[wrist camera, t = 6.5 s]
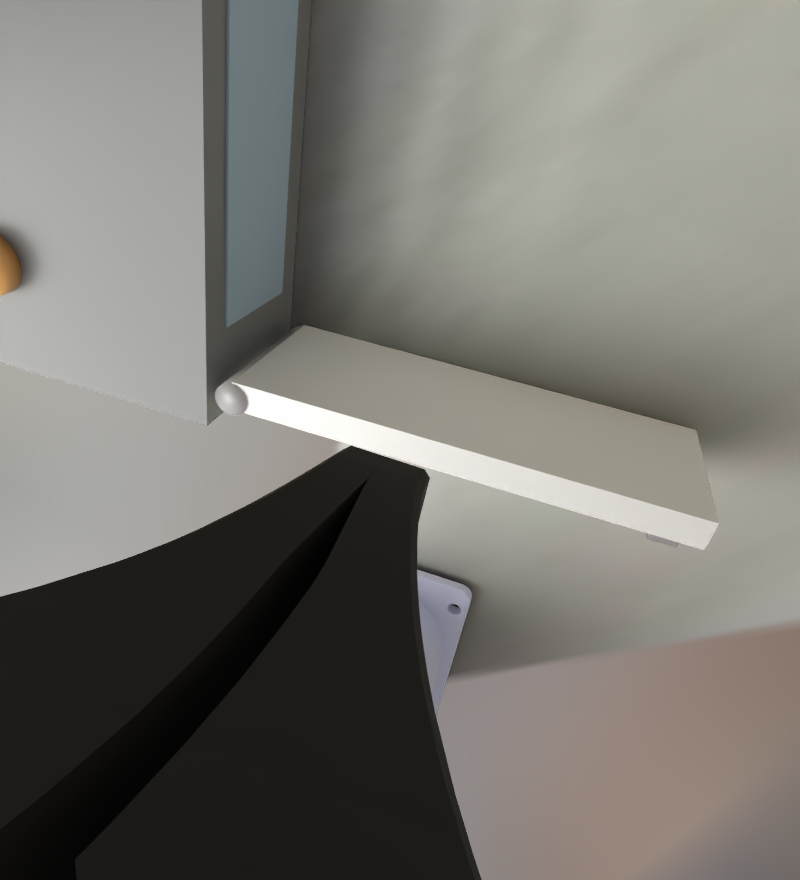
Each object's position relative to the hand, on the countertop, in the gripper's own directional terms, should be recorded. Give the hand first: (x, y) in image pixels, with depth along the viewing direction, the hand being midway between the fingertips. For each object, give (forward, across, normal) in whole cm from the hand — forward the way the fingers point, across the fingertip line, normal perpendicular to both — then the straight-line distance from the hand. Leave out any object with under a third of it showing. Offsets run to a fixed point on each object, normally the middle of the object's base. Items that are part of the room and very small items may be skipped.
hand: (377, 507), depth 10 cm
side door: (+10, 0, +2) cm, 10 cm away
